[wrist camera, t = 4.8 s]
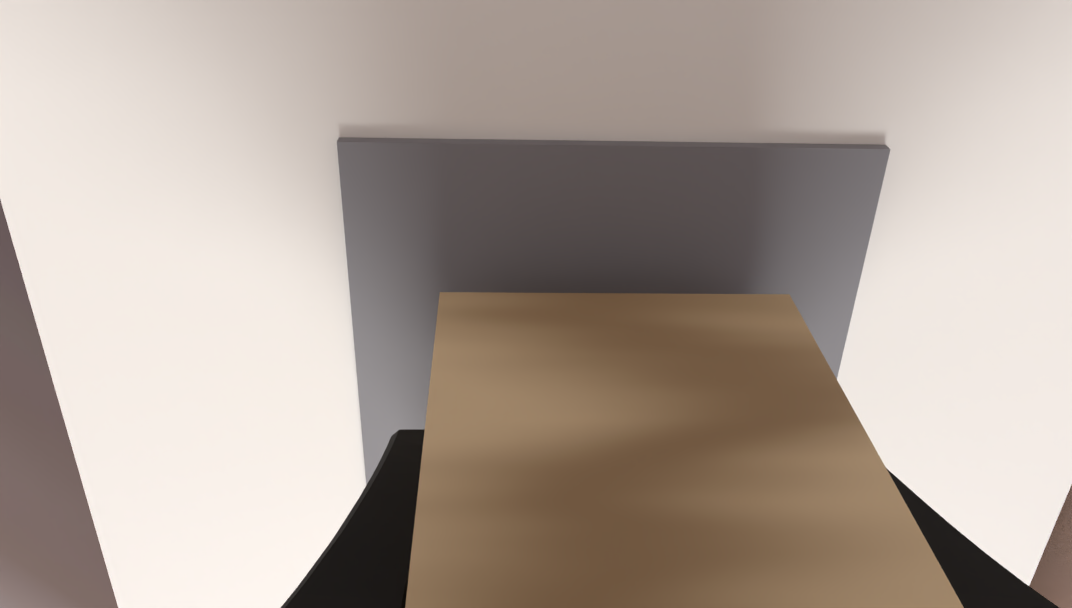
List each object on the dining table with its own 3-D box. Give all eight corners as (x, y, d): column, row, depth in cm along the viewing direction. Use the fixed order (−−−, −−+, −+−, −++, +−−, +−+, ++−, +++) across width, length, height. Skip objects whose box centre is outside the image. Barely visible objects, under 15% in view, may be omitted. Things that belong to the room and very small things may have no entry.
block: (789, 294, 13) (983, 642, 8) (739, 546, 15) (860, 934, 10) (440, 291, 13) (401, 650, 8) (447, 548, 15) (421, 947, 10)
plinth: (1254, -235, 13) (1388, -241, 11) (939, 634, 22) (982, 716, 20) (-49, -280, 12) (-153, -293, 10) (180, 643, 21) (148, 729, 19)
